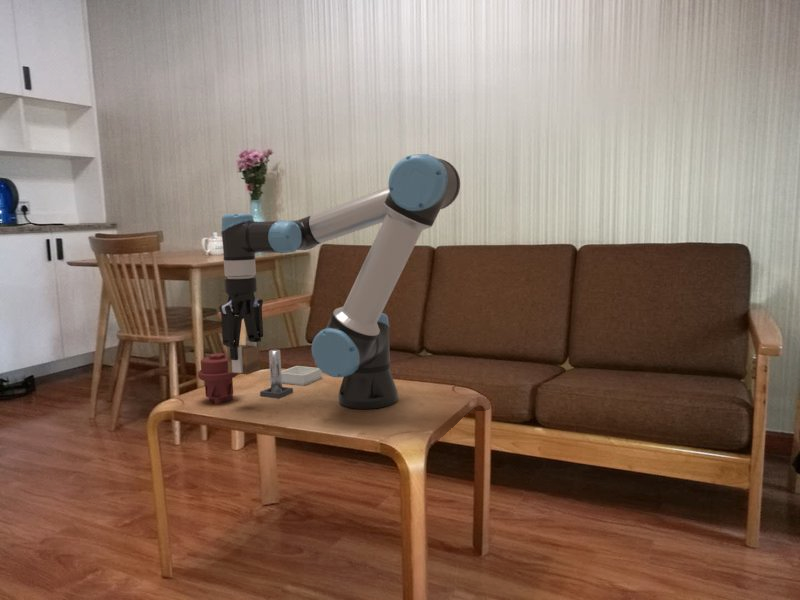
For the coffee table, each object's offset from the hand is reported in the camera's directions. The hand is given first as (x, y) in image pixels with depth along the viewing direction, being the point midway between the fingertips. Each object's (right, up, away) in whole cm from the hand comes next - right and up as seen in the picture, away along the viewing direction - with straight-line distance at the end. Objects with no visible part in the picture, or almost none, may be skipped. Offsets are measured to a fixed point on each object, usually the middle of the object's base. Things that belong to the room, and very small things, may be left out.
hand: (245, 369), depth 156 cm
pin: (+5, -8, +13) cm, 16 cm away
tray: (+9, -6, +27) cm, 29 cm away
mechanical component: (-9, -9, +9) cm, 15 cm away
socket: (+5, -8, +13) cm, 16 cm away
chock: (0, 0, 0) cm, 1 cm away
